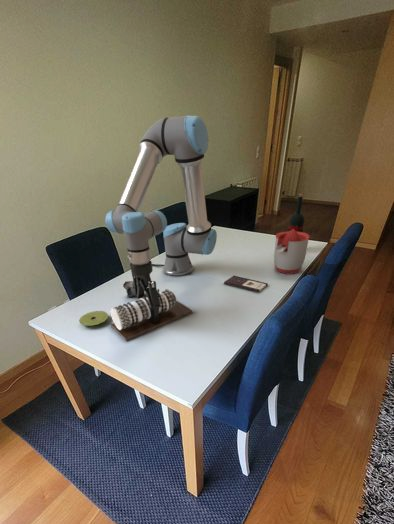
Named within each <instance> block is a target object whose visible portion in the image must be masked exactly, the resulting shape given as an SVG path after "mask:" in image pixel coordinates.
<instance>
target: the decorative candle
mask: <svg viewBox="0 0 394 524" xmlns="http://www.w3.org/2000/svg"><path fill="white" fill-rule="evenodd" d="M157 293H158V297H159V301H160V305H161V307H159V308H158V313H159V314H158V315H161V314H164V313H166V311H167V310H169V309H173V308H175V305H176V301H177V296H176V295H175V293H174V292H173V291H171V290H169V289H167V288H166V289H164V290H163V291H159V292H157ZM150 308H151V306H150V303H149V300H148V297H146V298H145V297H142V298H140V299H137V300H135V301H134V300H133V301H130V302H129V301H128V302H126V303H123V304H122V305H121V304H119V305H118V306H114V308H113V307H111V308H110V317H111V319H112V321H113V323H115V325H116V327H117V328H118V329H119V330H121V329H122V328H123V329H125V328H126V327H129V326H130V325H134V323H135V324H137V323H138V322H140V321H142V320H144V319H149V318H152V317H151V311H150Z"/></svg>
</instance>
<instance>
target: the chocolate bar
mask: <svg viewBox="0 0 394 524" xmlns="http://www.w3.org/2000/svg"><path fill="white" fill-rule="evenodd" d="M223 284H224V285H227V286H231V287H233V288H234V287H235V288H238V289H241V290H242V289H243V290H246V291H250V292H255V293H260V292H261V291H262V290H263V289H264V288H266V287H267V286H268V283H267V282H264V281H260V280H255V279H251V278H248V277H242V276H238V275H232V276H231V277H230V278H228V279H226V280H225V281H224V282H223Z"/></svg>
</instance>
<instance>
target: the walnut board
mask: <svg viewBox="0 0 394 524" xmlns="http://www.w3.org/2000/svg"><path fill="white" fill-rule="evenodd" d="M158 314H159V313H158ZM191 314H193V310H192V308H191V309H190V308H189V307H187V306H185V304H183V303H181V302H179V301H178V300H176V305H175V308H173V309H169V310H167V311H166V313H164V314H161V315H159V322H156V323H154V324H153V323H152V318H149V319H144V320H142V321H140V322H138V323H137V324H135V323H134V325H130V326H129V327H126V328H125V329H123V328H122V329H121V330H119V329H118V328H117V327H116V325H115V323H114V322H112V323H110V327H111V328H112V329H113V330H114V331H115V332H116V333H117V334H118V335H119V336H120V337H121V338H122V339H123V340H124V341H125V342H128V341H130V340H133V339H135V338H138V337H140V336H142V335H144V334H146V333H149V332H152V331H153V330H156V329H158V328H161V327H163V326H165V325H168V324H170V323H172V322H174V321H177V320H179V319H182V318H184V317H186V316H188V315H191Z"/></svg>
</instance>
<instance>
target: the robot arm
mask: <svg viewBox="0 0 394 524" xmlns="http://www.w3.org/2000/svg"><path fill="white" fill-rule="evenodd" d="M209 142H210V141H209V133H208V128H207V126H206V123H205V121H204V120H203V119H202V117H201V116H199V115H181V116H173V117H171V116H170V117H161V118H160V119H157V120H156V121H155V122H153V124H152V125H151V126H149V128H148V129H147V131H146V132H145V133H144V135H143V136H142V138H141V141H140V142H139V145H138V155H137V158H136V161H135V162H134V164H133V167H132V170H131V172H130V175H129V176H128V180H127V182H126V184H125V186H124V189H123V191H122V195H121V196H120V199H119V202H118V204H117V206H116V208H115V210H114V209H113V210H110V211H108V212H107V213H106V214H105V221H104V222H105V226H106V228H107V230H109V232H111V233H114V234H119V235H122V234H123V235H124V240H125V246H126V251H127V258H128V261H129V266H130V271H131V272H130V273H131V277H132V281H133V285H134V294H135V295H134V296H135V297H136V298H137V300H139V299H140V298H142V297H145V295H144V291H145V292H146V294H147V297H148V300H149V303H150V306H151V308H150V311H151V317H152V323H153V324H154V323H156V322H159V315H158V308H159V307H161V305H160V301H159V297H158V293H157V290H158V288H157V282H156V280H152V277H151V273H152V272H153V267H163V272H164V274H165V275H166V276H167V275H168V276H172V277H182V276H186V275H189V274H191V273H192V272H193V270H194V269H193V264H192V261H191V259H190V257H189V256H190V255H189V254H196V255H201V256H202V255H203V256H204V255H205V256H206V255H207V256H208V255H211V254H212V253H213V251H214V250H215V247H216V244H217V237H218V233H217V230H216V229H214V228H212V223H211V222H210V221H209V220H208V215H207V205H206V196H205V195H206V194H205V186H204V178H203V168H202V162H203V160H204V159H205V154H206V153H207V152H208V149H209ZM168 155H170V156H174V161H175V163H176V164H177V165H178V166H179V168H180V175H181V181H182V182H181V183H182V188H183V194H184V200H185V207H186V214H187V215H186V216H187V222H188V224H187V223H185V222H178V223H172V224H169V225H168V220H167V217H166V215H165V214H164V213H163V212H162V211H160V210H152V211H150V212H140V209H141V206H142V204H143V201H144V198H145V196H146V194H147V191H148V189H149V187H150V184H151V181H152V179H153V176H154V174H155V171H156V169H157V166H158V164H161V163H162V161H163V158H164V157H166V156H168ZM160 234H163V236H162V239H163V243H164V252H165V262H164V264H161V263H160V264H159V263H158V264H155V263H153V261H151V260H152V254H151V248H150V244H149V243H150V242H149V240H150V239H152V238H154V237H156V236H158V235H160ZM148 287H149V288H148Z"/></svg>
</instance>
